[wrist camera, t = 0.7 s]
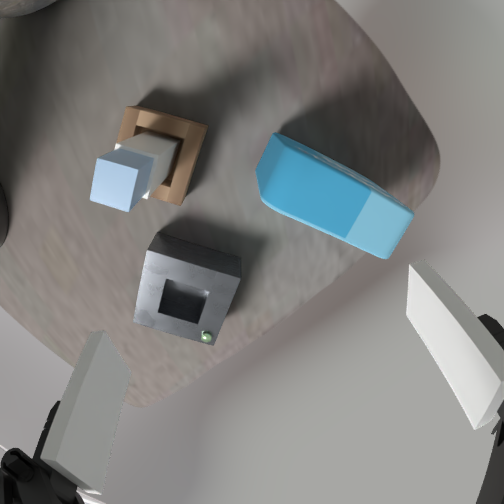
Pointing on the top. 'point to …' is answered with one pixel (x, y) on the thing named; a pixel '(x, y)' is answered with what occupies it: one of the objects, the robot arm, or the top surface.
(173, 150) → the plug
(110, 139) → the top surface
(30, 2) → the grey metal pot
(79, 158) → the top surface
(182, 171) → the frame
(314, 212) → the data package
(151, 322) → the port
